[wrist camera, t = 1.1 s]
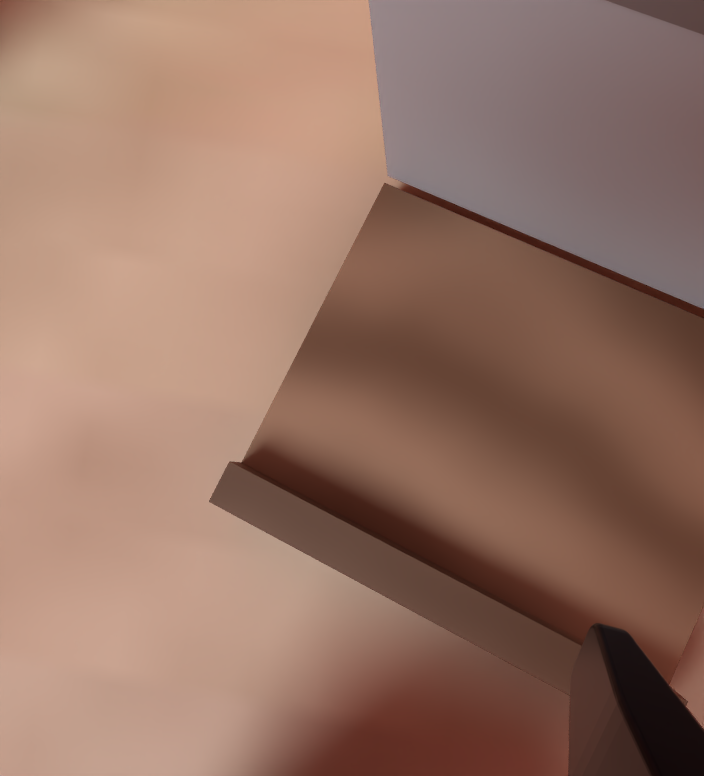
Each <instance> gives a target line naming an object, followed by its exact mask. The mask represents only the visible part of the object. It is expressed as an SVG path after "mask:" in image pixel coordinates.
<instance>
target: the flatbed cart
mask: <svg viewBox="0 0 704 776" xmlns="http://www.w3.org/2000/svg"><path fill="white" fill-rule="evenodd" d="M209 502H211V503H212V504H214V505H216V506H218V507H220V508H222V509H224V510H225V511H227V512H229V513H231V514H233V515H235V516H237V517H238V518H240V519H242V520H244V521H246V522H248V523H250V524H251V525H253V526H255V527H257V528H259V529H261V530H263V531H264V532H266V533H268V534H270V535H272V536H274V537H276V538H277V539H279V540H281V541H283V542H285V543H287V544H289V545H290V546H292V547H294V548H296V549H298V550H300V551H302V552H303V553H305V554H307V555H309V556H311V557H313V558H315V559H316V560H318V561H320V562H322V563H324V564H326V565H328V566H329V567H331V568H333V569H335V570H337V571H339V572H341V573H342V574H344V575H346V576H348V577H350V578H352V579H354V580H355V581H357V582H359V583H361V584H363V585H365V586H367V587H368V588H370V589H372V590H374V591H376V592H378V593H380V594H382V595H383V596H385V597H387V598H389V599H391V600H393V601H395V602H396V603H398V604H400V605H402V606H404V607H406V608H408V609H409V610H411V611H413V612H415V613H417V614H419V615H421V616H422V617H424V618H426V619H428V620H430V621H432V622H434V623H435V624H437V625H439V626H441V627H443V628H445V629H447V630H448V631H450V632H452V633H454V634H456V635H458V636H460V637H461V638H463V639H465V640H467V641H469V642H471V643H473V644H474V645H476V646H478V647H480V648H482V649H484V650H486V651H487V652H489V653H491V654H493V655H495V656H497V657H499V658H500V659H502V660H504V661H506V662H508V663H510V664H512V665H513V666H515V667H517V668H519V669H521V670H523V671H525V672H526V673H528V674H530V675H532V676H534V677H536V678H538V679H539V680H541V681H543V682H545V683H547V684H549V685H551V686H552V687H554V688H556V689H558V690H560V691H562V692H564V693H565V694H567V695H569V696H570V680H571V674H572V669H573V666H574V664H575V661H576V659H577V656H578V654H579V652H580V649H581V647H582V644H583V642H584V640H585V637H586V635H587V632H588V630H589V628H590V627H591V626H592V625H593V624H595V623H601V624H605V625H609V626H613V627H616V628H620V629H623V630H625V631H627V632H628V633H629V634H630V635H631V636H632V637H633V639H634V640H635V641H636V643H637V644H638V645H639V646H640V648H641V649H642V650H643V652H644V653H645V654H646V655H647V657H648V658H649V659H650V661H651V662H652V663H653V664H654V666H655V667H656V668H657V670H658V671H659V672H660V674H661V675H662V676H663V677H664V679H665V680H666V681H667V683H668V684H669V683H670V681H671V679H672V677H673V674H674V672H675V670H676V667H677V665H678V663H679V661H680V658H681V656H682V654H683V652H684V649H685V647H686V645H687V642H688V640H689V638H690V636H691V633H692V631H693V629H694V626H695V624H696V622H697V620H698V617H699V615H700V613H701V610H702V608H703V606H704V318H702V317H699V316H697V315H695V314H692V313H690V312H688V311H685V310H683V309H680V308H678V307H676V306H673V305H671V304H669V303H666V302H664V301H662V300H659V299H657V298H655V297H652V296H650V295H647V294H645V293H643V292H640V291H638V290H636V289H633V288H631V287H629V286H626V285H624V284H622V283H619V282H617V281H614V280H612V279H610V278H607V277H605V276H603V275H600V274H598V273H596V272H593V271H591V270H589V269H586V268H584V267H581V266H579V265H577V264H574V263H572V262H570V261H567V260H565V259H563V258H560V257H558V256H556V255H553V254H551V253H548V252H546V251H544V250H541V249H539V248H537V247H534V246H532V245H530V244H527V243H525V242H523V241H520V240H518V239H515V238H513V237H511V236H508V235H506V234H504V233H501V232H499V231H497V230H494V229H492V228H490V227H487V226H485V225H482V224H480V223H478V222H475V221H473V220H471V219H468V218H466V217H464V216H461V215H459V214H457V213H454V212H452V211H449V210H447V209H445V208H442V207H440V206H438V205H435V204H433V203H431V202H428V201H426V200H424V199H421V198H419V197H416V196H414V195H412V194H409V193H407V192H405V191H402V190H400V189H398V188H395V187H393V186H391V185H388V184H386V183H384V185H383V187H382V189H381V191H380V193H379V195H378V197H377V199H376V201H375V203H374V204H373V206H372V208H371V210H370V212H369V214H368V216H367V218H366V220H365V222H364V224H363V226H362V228H361V230H360V232H359V234H358V236H357V238H356V240H355V242H354V244H353V246H352V248H351V249H350V251H349V253H348V255H347V257H346V259H345V261H344V263H343V265H342V267H341V269H340V271H339V273H338V275H337V277H336V279H335V281H334V283H333V285H332V287H331V289H330V291H329V293H328V295H327V296H326V298H325V300H324V302H323V304H322V306H321V308H320V310H319V312H318V314H317V316H316V318H315V320H314V322H313V324H312V326H311V328H310V330H309V332H308V334H307V336H306V338H305V340H304V342H303V343H302V345H301V347H300V349H299V351H298V353H297V355H296V357H295V359H294V361H293V363H292V365H291V367H290V369H289V371H288V373H287V375H286V377H285V379H284V381H283V383H282V385H281V387H280V388H279V390H278V392H277V394H276V396H275V398H274V400H273V402H272V404H271V406H270V408H269V410H268V412H267V414H266V416H265V418H264V420H263V422H262V424H261V426H260V428H259V430H258V432H257V434H256V435H255V437H254V439H253V441H252V443H251V445H250V447H249V449H248V451H247V453H246V455H245V457H244V459H243V461H242V463H240V462H229V463H228V465H227V467H226V469H225V471H224V473H223V475H222V477H221V479H220V481H219V483H218V485H217V487H216V489H215V491H214V492H213V494H212V496H211V498H210V500H209ZM674 692H675V693H676V694H677V695H678V697H679V698H680V699H681V701H682V702H683V703H684V705H685V706H686V704H687V702H688V701H687V700H685V699H684V698H683V697H682V696H681V695H679V694H678V693H677V692H676V691H675V690H674Z"/></svg>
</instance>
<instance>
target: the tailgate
mask: <svg viewBox="0 0 704 776" xmlns="http://www.w3.org/2000/svg"><path fill="white" fill-rule="evenodd" d="M369 8H370V17H371V26H372V35H373V45H374V54H375V63H376V72H377V81H378V90H379V100H380V109H381V118H382V127H383V136H384V146H385V155H386V164H387V173H388V176H389V177H392V178H394V179H396V180H399V181H401V182H403V183H406V184H408V185H411V186H413V187H415V188H418V189H420V190H422V191H425V192H427V193H429V194H432V195H434V196H437V197H439V198H441V199H444V200H446V201H448V202H451V203H453V204H456V205H458V206H460V207H463V208H465V209H467V210H470V211H472V212H475V213H477V214H479V215H482V216H484V217H486V218H489V219H491V220H493V221H496V222H498V223H501V224H503V225H505V226H508V227H510V228H512V229H515V230H517V231H520V232H522V233H524V234H527V235H529V236H531V237H534V238H536V239H539V240H541V241H543V242H546V243H548V244H550V245H553V246H555V247H557V248H560V249H562V250H565V251H567V252H569V253H572V254H574V255H576V256H579V257H581V258H584V259H586V260H588V261H591V262H593V263H595V264H598V265H600V266H602V267H605V268H607V269H610V270H612V271H614V272H617V273H619V274H621V275H624V276H626V277H629V278H631V279H633V280H636V281H638V282H640V283H643V284H645V285H648V286H650V287H652V288H655V289H657V290H659V291H662V292H664V293H666V294H669V295H671V296H674V297H676V298H678V299H681V300H683V301H685V302H688V303H690V304H693V305H695V306H697V307H700V308H702V309H704V0H369Z"/></svg>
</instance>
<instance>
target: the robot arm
mask: <svg viewBox="0 0 704 776" xmlns="http://www.w3.org/2000/svg"><path fill="white" fill-rule="evenodd" d="M568 776H704V729H703V728H702V726H701V725H700V724H699V723H698V721H697V720H696V719H695V717H694V716H693V715H692V714H691V712H690V711H689V710H688V708H687V707H686V706H685V705H684V703H683V702H682V701H681V699H680V698H679V697H678V695H677V694H676V693H675V692H674V690H673V689H672V688H671V686H670V685H669V684H668V683H667V681H666V680H665V679H664V677H663V676H662V675H661V674H660V672H659V671H658V670H657V668H656V667H655V666H654V664H653V663H652V662H651V661H650V659H649V658H648V657H647V655H646V654H645V653H644V652H643V650H642V649H641V648H640V646H639V645H638V644H637V643H636V641H635V640H634V639H633V637H632V636H631V635H630V634H629V633H628V632H627V631H625V630H623V629H620V628H616V627H613V626H609V625H605V624H601V623H595V624H593V625H592V626H591V627H590V628H589V630H588V632H587V635H586V637H585V640H584V642H583V644H582V647H581V649H580V652H579V654H578V656H577V659H576V661H575V664H574V666H573V669H572V674H571V680H570V715H569V770H568Z"/></svg>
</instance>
